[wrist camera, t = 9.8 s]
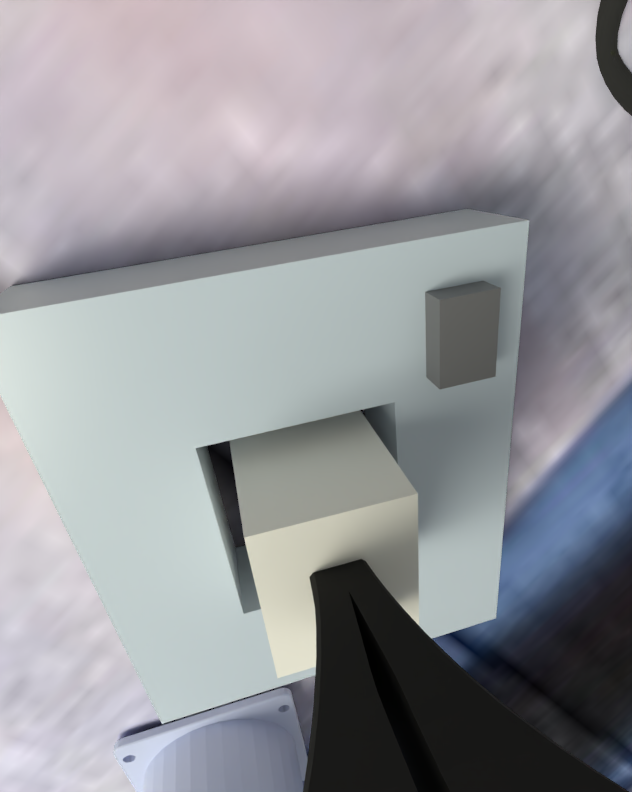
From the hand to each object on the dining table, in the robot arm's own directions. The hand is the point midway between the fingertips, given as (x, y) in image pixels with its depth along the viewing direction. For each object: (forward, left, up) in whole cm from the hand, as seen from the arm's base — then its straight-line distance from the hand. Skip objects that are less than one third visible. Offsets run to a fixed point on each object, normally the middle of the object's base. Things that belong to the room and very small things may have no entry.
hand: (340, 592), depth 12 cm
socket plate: (0, 0, -6) cm, 6 cm away
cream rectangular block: (0, 0, -6) cm, 6 cm away
